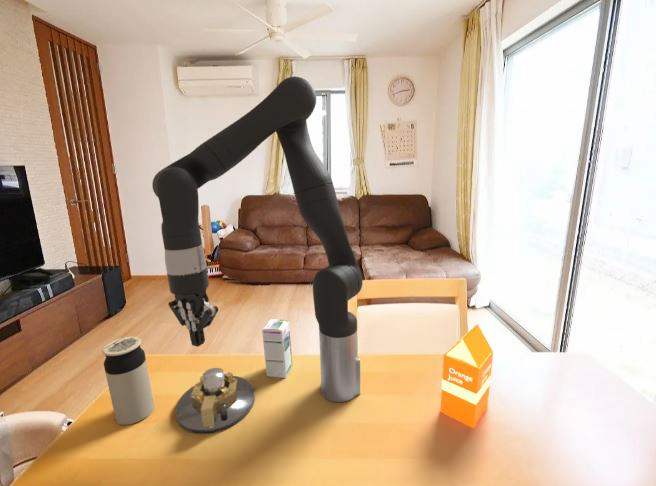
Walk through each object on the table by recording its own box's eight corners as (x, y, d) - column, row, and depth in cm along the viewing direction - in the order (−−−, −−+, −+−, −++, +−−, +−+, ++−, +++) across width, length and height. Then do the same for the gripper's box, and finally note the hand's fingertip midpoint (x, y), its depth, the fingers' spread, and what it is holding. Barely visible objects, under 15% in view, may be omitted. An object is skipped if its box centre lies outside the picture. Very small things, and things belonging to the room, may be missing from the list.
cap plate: (253, 375, 91) (251, 347, 89) (255, 424, 74) (252, 391, 72) (183, 387, 87) (179, 358, 85) (168, 442, 70) (162, 407, 68)
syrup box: (286, 378, 90) (283, 329, 86) (265, 376, 91) (261, 328, 87) (292, 366, 95) (290, 319, 91) (273, 364, 96) (269, 318, 93)
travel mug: (161, 406, 81) (150, 339, 76) (130, 430, 74) (116, 358, 69) (139, 397, 84) (127, 333, 80) (108, 419, 77) (92, 350, 73)
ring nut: (199, 387, 84) (196, 371, 83) (239, 382, 86) (237, 367, 85) (184, 430, 71) (181, 412, 70) (232, 423, 72) (230, 406, 71)
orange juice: (488, 406, 78) (496, 328, 73) (474, 429, 71) (481, 345, 67) (455, 391, 83) (460, 318, 78) (439, 411, 77) (444, 332, 72)
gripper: (149, 269, 68) (163, 346, 72) (194, 277, 62) (206, 360, 66) (180, 259, 74) (191, 330, 78) (224, 265, 68) (233, 342, 72)
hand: (198, 344), depth 72 cm, fingers closed
